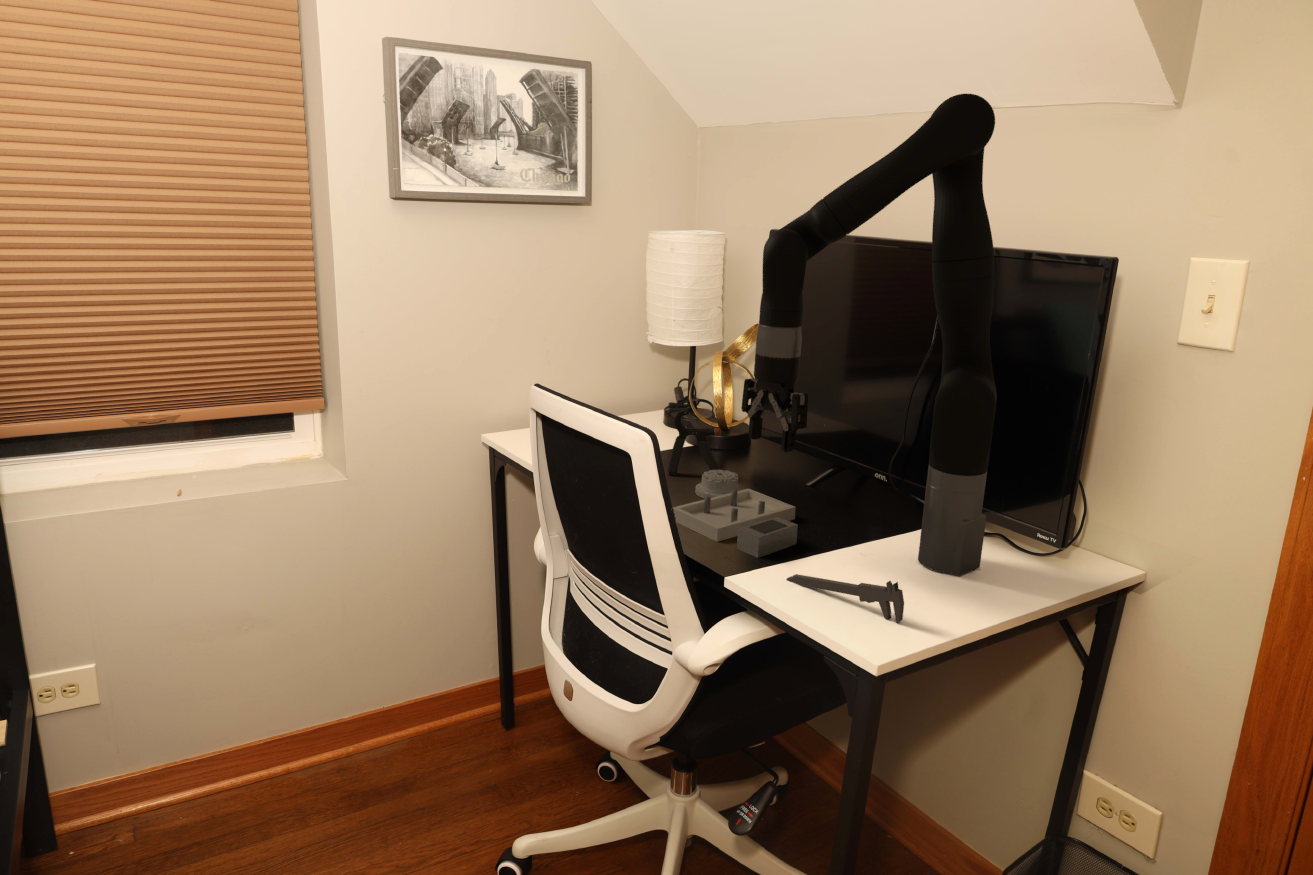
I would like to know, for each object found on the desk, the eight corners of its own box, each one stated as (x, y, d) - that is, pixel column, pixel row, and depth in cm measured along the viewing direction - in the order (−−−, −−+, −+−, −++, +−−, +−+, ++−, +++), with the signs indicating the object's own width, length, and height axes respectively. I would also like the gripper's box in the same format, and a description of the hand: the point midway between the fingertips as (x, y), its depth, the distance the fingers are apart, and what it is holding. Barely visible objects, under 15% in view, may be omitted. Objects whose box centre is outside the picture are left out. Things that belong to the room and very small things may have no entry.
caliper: (902, 623, 128) (906, 584, 126) (898, 626, 127) (902, 586, 125) (789, 579, 141) (792, 543, 140) (785, 581, 141) (788, 545, 139)
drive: (796, 545, 155) (797, 524, 154) (757, 559, 149) (759, 536, 148) (775, 536, 159) (776, 515, 158) (736, 549, 153) (738, 528, 152)
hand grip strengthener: (723, 481, 189) (726, 414, 184) (667, 476, 191) (669, 409, 187) (725, 477, 191) (728, 411, 187) (669, 472, 193) (671, 407, 189)
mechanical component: (703, 503, 175) (750, 500, 177) (704, 483, 174) (751, 480, 176) (689, 488, 184) (734, 485, 187) (690, 468, 183) (735, 465, 185)
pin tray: (794, 519, 167) (796, 499, 166) (717, 541, 155) (718, 520, 154) (747, 500, 177) (748, 481, 176) (671, 520, 165) (672, 500, 164)
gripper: (824, 357, 141) (815, 453, 146) (767, 343, 153) (761, 432, 157) (789, 361, 137) (781, 458, 142) (734, 346, 149) (728, 437, 153)
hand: (770, 444), depth 149 cm, fingers open, 8 cm apart
